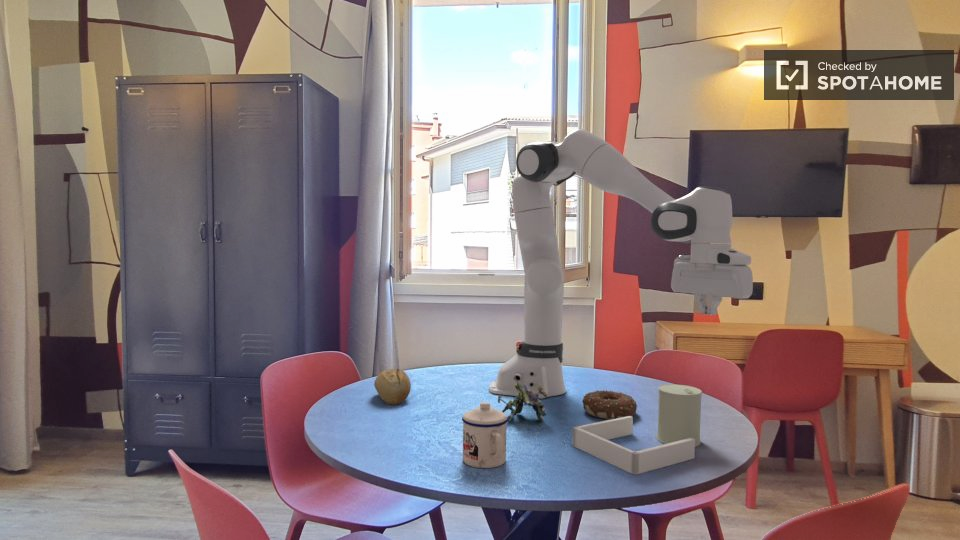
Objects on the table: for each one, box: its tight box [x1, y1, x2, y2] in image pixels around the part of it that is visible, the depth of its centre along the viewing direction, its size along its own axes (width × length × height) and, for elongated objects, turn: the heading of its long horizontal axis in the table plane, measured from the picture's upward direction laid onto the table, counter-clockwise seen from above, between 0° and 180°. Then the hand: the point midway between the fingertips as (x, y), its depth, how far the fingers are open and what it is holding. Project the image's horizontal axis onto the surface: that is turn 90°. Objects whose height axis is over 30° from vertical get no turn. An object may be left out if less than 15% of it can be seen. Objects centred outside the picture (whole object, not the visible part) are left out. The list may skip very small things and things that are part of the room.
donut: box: [582, 390, 638, 420], centre depth 149 cm, size 14×14×5 cm
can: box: [656, 383, 703, 448], centre depth 130 cm, size 9×9×12 cm
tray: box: [571, 415, 696, 476], centre depth 122 cm, size 17×18×4 cm
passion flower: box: [497, 382, 548, 423], centre depth 142 cm, size 11×11×12 cm
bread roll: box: [373, 368, 412, 406], centre depth 160 cm, size 10×15×8 cm, turn 21°
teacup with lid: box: [461, 401, 509, 469], centre depth 115 cm, size 12×9×12 cm
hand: (708, 314), depth 138 cm, fingers closed
